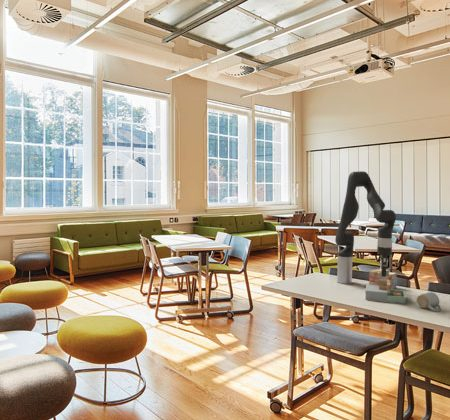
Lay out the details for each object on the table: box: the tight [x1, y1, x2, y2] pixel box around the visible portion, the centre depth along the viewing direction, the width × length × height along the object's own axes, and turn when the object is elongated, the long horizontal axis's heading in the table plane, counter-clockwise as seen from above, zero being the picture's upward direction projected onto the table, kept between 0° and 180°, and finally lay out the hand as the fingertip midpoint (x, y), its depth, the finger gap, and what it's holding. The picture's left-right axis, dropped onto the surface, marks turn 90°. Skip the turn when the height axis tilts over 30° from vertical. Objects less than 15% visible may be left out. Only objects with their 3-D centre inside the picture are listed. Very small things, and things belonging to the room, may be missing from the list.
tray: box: [387, 289, 408, 305], centre depth 220 cm, size 17×10×4 cm, turn 159°
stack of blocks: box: [368, 268, 398, 290], centre depth 244 cm, size 21×6×12 cm, turn 129°
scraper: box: [379, 279, 390, 293], centre depth 223 cm, size 16×6×5 cm, turn 159°
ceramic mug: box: [416, 291, 442, 312], centre depth 203 cm, size 11×8×8 cm
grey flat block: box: [365, 284, 388, 303], centre depth 224 cm, size 16×11×5 cm
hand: (383, 274), depth 223 cm, fingers open, 8 cm apart
